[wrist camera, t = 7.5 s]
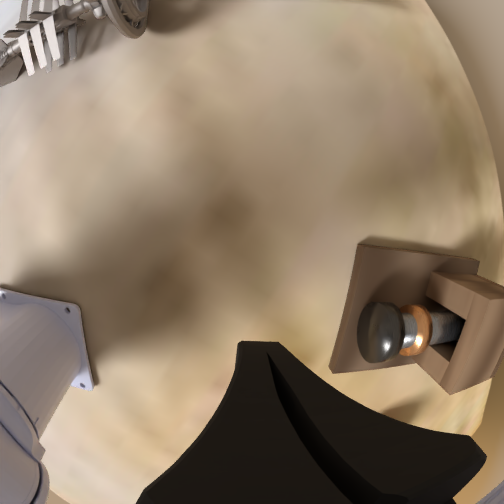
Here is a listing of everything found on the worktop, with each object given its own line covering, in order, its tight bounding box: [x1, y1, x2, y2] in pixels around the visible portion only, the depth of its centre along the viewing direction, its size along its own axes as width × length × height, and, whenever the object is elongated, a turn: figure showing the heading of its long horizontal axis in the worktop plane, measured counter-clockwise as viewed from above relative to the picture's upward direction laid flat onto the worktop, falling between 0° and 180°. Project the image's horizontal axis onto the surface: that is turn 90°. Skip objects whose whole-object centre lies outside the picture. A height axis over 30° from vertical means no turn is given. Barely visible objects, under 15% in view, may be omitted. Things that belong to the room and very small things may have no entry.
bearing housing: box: [329, 244, 504, 395], centre depth 17 cm, size 14×10×8 cm
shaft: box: [357, 302, 466, 363], centre depth 17 cm, size 12×4×4 cm, turn 83°
